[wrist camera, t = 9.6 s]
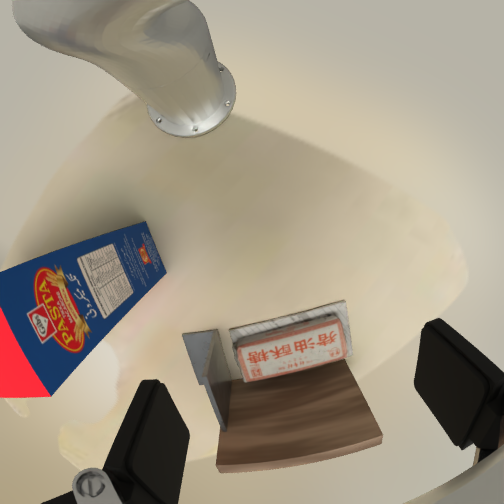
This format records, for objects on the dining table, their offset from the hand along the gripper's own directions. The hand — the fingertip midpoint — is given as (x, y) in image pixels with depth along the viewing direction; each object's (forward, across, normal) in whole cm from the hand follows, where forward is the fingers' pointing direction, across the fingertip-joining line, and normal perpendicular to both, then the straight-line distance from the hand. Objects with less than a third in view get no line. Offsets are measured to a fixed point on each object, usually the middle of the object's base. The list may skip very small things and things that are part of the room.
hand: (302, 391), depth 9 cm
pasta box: (+31, +29, +1) cm, 42 cm away
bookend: (+30, +12, +18) cm, 37 cm away
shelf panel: (+29, 0, +24) cm, 38 cm away
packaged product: (+30, -2, +18) cm, 35 cm away
